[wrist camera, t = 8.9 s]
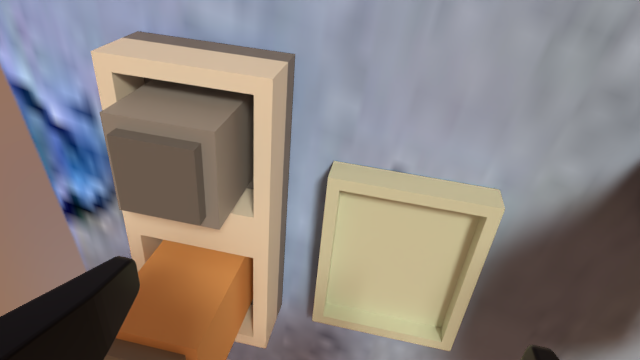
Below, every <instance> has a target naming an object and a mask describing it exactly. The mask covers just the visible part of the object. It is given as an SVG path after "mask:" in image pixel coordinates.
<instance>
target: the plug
mask: <svg viewBox="0 0 640 360" xmlns="http://www.w3.org/2000/svg"><path fill="white" fill-rule="evenodd" d="M138 276H139V281H140V288H139V292H138V295H137V297H136V299H135V301H134V303H133V305H132V307H131V309H130V310H129V312H128V314H127V316H126V318H125V320H124V322H123V324H122V326H121V328H120V330H119V332H118V334H117V336H116V338H115V340H114V342H113V344H112V346H111V348H110V350H109V352H108V353H107V355H106V357H105V358H104V360H226V359H227V356H228V354H229V352H230V350H231V347H232V345H233V343H234V341H235V338H236V336H237V334H238V331H239V329H240V327H241V325H242V322H243V320H244V318H245V316H246V313H247V311H248V309H249V306H250V304H251V302H252V300H253V258H250V257H245V256H240V255H235V254H231V253H226V252H221V251H216V250H211V249H207V248H202V247H197V246H192V245H187V244H182V243H178V242H173V241H168V240H163V241H162V242H161V244H160V245H159V246H158V248H157V249H156V250H155V251H154V253H153V254H152V255H151V256H150V258H149V259H148V260H147V261H146V263H145V264H144V265H143V267H142V268H141V269H140V270H139V272H138Z"/></svg>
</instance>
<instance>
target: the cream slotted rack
mask: <svg viewBox="0 0 640 360" xmlns="http://www.w3.org/2000/svg"><path fill="white" fill-rule="evenodd" d="M91 54H92V59H93V65H94V70H95V75H96V80H97V85H98V90H99V95H100V100H101V105H102V110H103V111H101V112H100V116H101V121H102V126H103V131H104V136H105V141H106V146H107V151H108V156H109V160H110V165H111V170H112V175H113V180H114V185H115V190H116V195H117V200H118V205H119V210H122V211H123V216H124V221H125V226H126V231H127V236H128V241H129V246H130V251H131V256H132V259H133V260H134V261H135V262H136V265H137V271H138V272H139V270H140V269H141V268H142V267H143V265H144V264H145V263H146V261H147V260H148V259H149V258H150V256H151V255H152V254H153V253H154V251H155V250H156V249H157V248H158V246H159V245H160V244H161V242H162V241H163V240H168V241H173V242H178V243H182V244H187V245H192V246H197V247H202V248H207V249H211V250H216V251H221V252H226V253H231V254H235V255H240V256H245V257H250V258H253V300H252V302H251V304H250V306H249V309H248V311H247V313H246V316H245V318H244V320H243V322H242V325H241V327H240V329H239V331H238V334H237V336H236V338H235V342H240V343H244V344H248V345H253V346H257V347H261V348H265V349H266V346H267V344H268V341H269V338H270V335H271V333H272V330H273V327H274V324H275V322H276V319H277V316H278V313H279V311H280V308H281V305H282V292H283V273H284V255H285V236H286V217H287V198H288V180H289V161H290V142H291V124H292V105H293V86H294V67H295V54H290V53H283V52H277V51H270V50H263V49H256V48H249V47H242V46H235V45H228V44H221V43H215V42H208V41H201V40H194V39H187V38H180V37H173V36H166V35H159V34H152V33H146V32H139V31H137V32H135V33H133V34H130V35H128V36H125V37H123V38H121V39H118V40H116V41H114V42H111V43H109V44H107V45H104V46H102V47H99V48H97V49H95V50H92V51H91Z"/></svg>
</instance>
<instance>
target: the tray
mask: <svg viewBox="0 0 640 360" xmlns="http://www.w3.org/2000/svg"><path fill="white" fill-rule="evenodd" d="M504 210H505V207H504V203H503V200H502V196H501V192H500V190H498V189H492V188H487V187H481V186H475V185H469V184H464V183H458V182H452V181H446V180H441V179H435V178H429V177H423V176H418V175H412V174H406V173H400V172H395V171H389V170H383V169H377V168H372V167H366V166H360V165H355V164H349V163H343V162H337V161H334V162H333V165H332V168H331V170H330V173H329V176H328V182H327V191H326V200H325V209H324V218H323V227H322V236H321V245H320V254H319V263H318V272H317V281H316V290H315V299H314V308H313V317H312V321H315V322H320V323H324V324H329V325H333V326H338V327H342V328H347V329H351V330H356V331H361V332H365V333H370V334H374V335H379V336H383V337H388V338H392V339H397V340H401V341H406V342H410V343H415V344H419V345H424V346H428V347H433V348H437V349H442V350H446V351H450V350H451V348H452V345H453V342H454V340H455V337H456V335H457V332H458V330H459V327H460V324H461V322H462V319H463V317H464V314H465V311H466V309H467V306H468V304H469V301H470V298H471V296H472V293H473V291H474V288H475V286H476V283H477V280H478V278H479V275H480V273H481V270H482V267H483V265H484V262H485V260H486V257H487V254H488V252H489V249H490V247H491V244H492V242H493V239H494V236H495V234H496V231H497V229H498V226H499V223H500V221H501V218H502V216H503V213H504Z"/></svg>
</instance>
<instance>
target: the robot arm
mask: <svg viewBox="0 0 640 360" xmlns="http://www.w3.org/2000/svg"><path fill="white" fill-rule="evenodd" d="M139 288H140V281H139V276H138V271H137V265H136V262H135V261H134V260H133V259H130V258H126V257H121V256H117V257H114V258H112V259H110V260H108V261H106V262H104V263H103V264H101V265H99V266H97V267H95V268H93V269H91V270H89V271H87V272H85V273H83V274H82V275H80V276H78V277H76V278H74V279H72V280H70V281H68V282H66V283H64V284H62V285H60V286H58V287H56V288H55V289H53V290H51V291H49V292H47V293H45V294H43V295H41V296H39V297H37V298H35V299H33V300H31V301H30V302H28V303H26V304H24V305H22V306H20V307H18V308H16V309H14V310H12V311H10V312H8V313H7V314H5V315H3V316H1V317H0V360H104V358H105V357H106V355H107V353H108V352H109V350H110V348H111V346H112V344H113V342H114V340H115V338H116V336H117V334H118V332H119V330H120V328H121V326H122V324H123V322H124V320H125V318H126V316H127V314H128V312H129V310H130V309H131V307H132V305H133V303H134V301H135V299H136V297H137V295H138V292H139ZM521 360H559V358H558V357H557V356H556V355H555V353H554V352H553V351H552V350H550V349H548V348H545V347H540V346H535V345H530V346H529V347H528V348H527V349H526V351H525V353H524V355H523V357H522V358H521Z"/></svg>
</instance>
